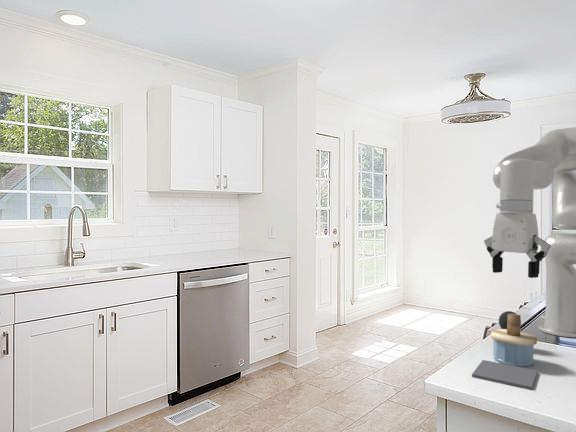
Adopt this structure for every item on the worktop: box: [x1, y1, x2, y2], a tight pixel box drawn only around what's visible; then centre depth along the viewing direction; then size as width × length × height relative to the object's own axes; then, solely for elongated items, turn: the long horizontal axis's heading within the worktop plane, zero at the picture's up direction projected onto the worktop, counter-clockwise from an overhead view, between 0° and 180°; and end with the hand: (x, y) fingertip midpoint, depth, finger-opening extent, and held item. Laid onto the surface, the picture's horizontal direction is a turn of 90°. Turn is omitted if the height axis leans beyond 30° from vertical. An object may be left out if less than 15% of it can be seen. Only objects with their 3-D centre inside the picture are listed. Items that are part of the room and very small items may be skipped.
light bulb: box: [498, 310, 522, 329], centre depth 122 cm, size 6×6×10 cm
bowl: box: [492, 339, 535, 368], centre depth 110 cm, size 9×9×6 cm
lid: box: [490, 313, 538, 346], centre depth 110 cm, size 10×10×6 cm
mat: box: [471, 359, 538, 391], centre depth 100 cm, size 12×12×1 cm
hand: (514, 274), depth 110 cm, fingers open, 9 cm apart
